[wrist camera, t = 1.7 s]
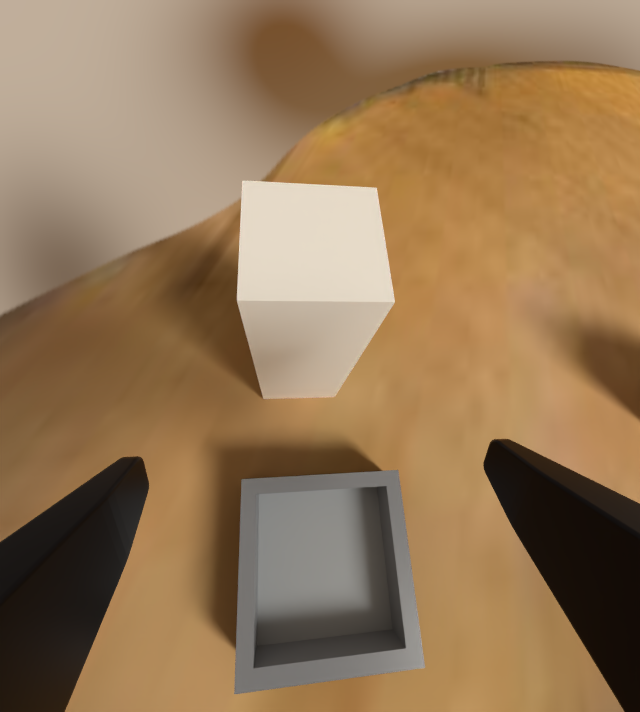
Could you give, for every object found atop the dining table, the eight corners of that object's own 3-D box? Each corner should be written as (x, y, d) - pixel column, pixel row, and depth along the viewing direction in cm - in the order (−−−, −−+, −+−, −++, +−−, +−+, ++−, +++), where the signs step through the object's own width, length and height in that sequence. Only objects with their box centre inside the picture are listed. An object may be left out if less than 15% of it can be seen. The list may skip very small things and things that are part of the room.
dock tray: (402, 637, 17) (424, 667, 15) (242, 657, 16) (234, 694, 14) (382, 470, 21) (398, 469, 18) (247, 478, 20) (241, 479, 17)
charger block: (334, 396, 22) (394, 302, 10) (263, 398, 21) (236, 300, 9) (329, 333, 24) (376, 188, 12) (264, 333, 23) (242, 180, 11)
